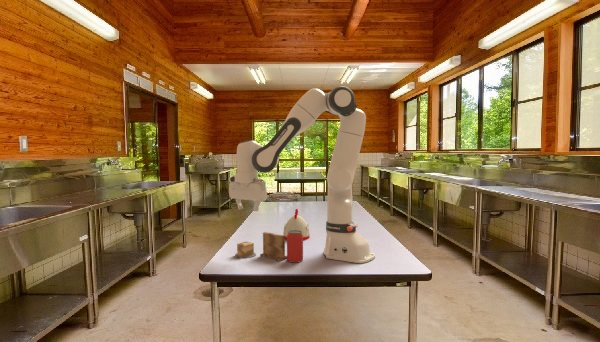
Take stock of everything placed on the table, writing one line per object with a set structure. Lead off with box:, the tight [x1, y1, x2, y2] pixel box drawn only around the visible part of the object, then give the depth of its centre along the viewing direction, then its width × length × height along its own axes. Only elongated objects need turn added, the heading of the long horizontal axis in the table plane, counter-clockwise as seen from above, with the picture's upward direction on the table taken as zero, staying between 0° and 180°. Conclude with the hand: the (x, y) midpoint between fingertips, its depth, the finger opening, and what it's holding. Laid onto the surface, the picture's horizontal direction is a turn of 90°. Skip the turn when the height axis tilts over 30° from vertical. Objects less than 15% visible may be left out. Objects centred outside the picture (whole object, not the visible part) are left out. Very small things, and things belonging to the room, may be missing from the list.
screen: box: [259, 231, 287, 262], centre depth 143 cm, size 11×5×10 cm, turn 52°
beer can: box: [286, 230, 304, 264], centre depth 139 cm, size 7×7×12 cm
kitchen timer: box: [282, 208, 311, 241], centre depth 177 cm, size 14×14×15 cm
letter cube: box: [236, 241, 255, 257], centre depth 146 cm, size 5×5×5 cm
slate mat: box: [234, 252, 257, 259], centre depth 147 cm, size 9×9×1 cm
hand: (248, 210), depth 147 cm, fingers open, 8 cm apart
